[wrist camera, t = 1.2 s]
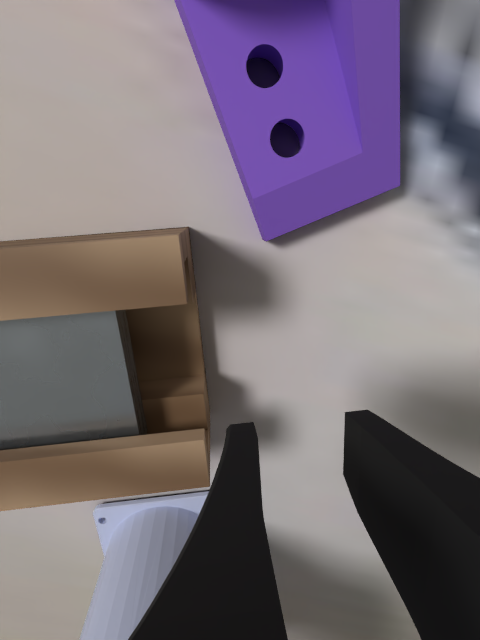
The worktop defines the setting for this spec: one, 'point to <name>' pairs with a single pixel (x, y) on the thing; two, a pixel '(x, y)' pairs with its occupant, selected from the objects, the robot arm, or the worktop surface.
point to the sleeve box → (149, 354)
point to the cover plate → (68, 380)
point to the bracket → (304, 100)
